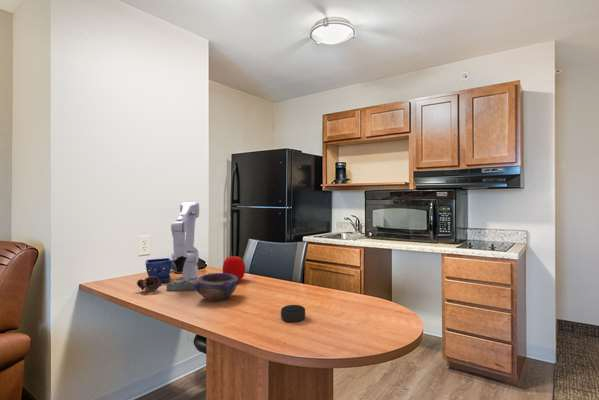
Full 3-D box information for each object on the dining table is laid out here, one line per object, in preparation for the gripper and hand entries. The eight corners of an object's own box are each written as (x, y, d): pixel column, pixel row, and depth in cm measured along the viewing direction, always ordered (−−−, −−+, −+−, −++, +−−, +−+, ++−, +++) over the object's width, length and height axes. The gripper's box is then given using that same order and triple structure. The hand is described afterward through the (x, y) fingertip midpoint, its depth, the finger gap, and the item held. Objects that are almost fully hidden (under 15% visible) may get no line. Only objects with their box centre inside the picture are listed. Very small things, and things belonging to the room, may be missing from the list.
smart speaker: (291, 313, 131) (291, 302, 131) (310, 317, 125) (310, 306, 125) (276, 319, 124) (275, 308, 124) (294, 325, 118) (294, 313, 118)
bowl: (228, 305, 143) (227, 281, 143) (189, 303, 146) (188, 280, 146) (244, 293, 160) (243, 272, 160) (208, 292, 164) (208, 271, 164)
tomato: (218, 282, 183) (217, 256, 183) (228, 278, 194) (228, 253, 194) (239, 283, 179) (238, 256, 179) (249, 278, 190) (248, 253, 190)
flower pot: (145, 280, 194) (145, 259, 194) (170, 277, 200) (170, 257, 200) (146, 285, 182) (145, 262, 182) (172, 282, 188) (172, 260, 188)
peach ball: (177, 284, 175) (177, 275, 175) (185, 284, 175) (185, 275, 175) (173, 286, 171) (173, 277, 171) (182, 286, 170) (182, 277, 170)
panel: (173, 286, 177) (173, 280, 177) (219, 286, 176) (218, 280, 176) (166, 290, 169) (166, 284, 169) (214, 290, 168) (214, 284, 168)
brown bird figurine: (163, 289, 175) (164, 276, 171) (155, 302, 166) (156, 289, 163) (140, 284, 174) (140, 271, 171) (131, 296, 166) (131, 284, 162)
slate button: (190, 284, 175) (190, 275, 175) (199, 284, 174) (198, 275, 174) (187, 286, 170) (187, 277, 170) (196, 286, 170) (195, 277, 170)
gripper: (177, 243, 180) (178, 269, 180) (165, 247, 166) (166, 275, 166) (190, 243, 180) (191, 268, 180) (179, 246, 165) (180, 274, 165)
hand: (180, 271), depth 173 cm, fingers closed
